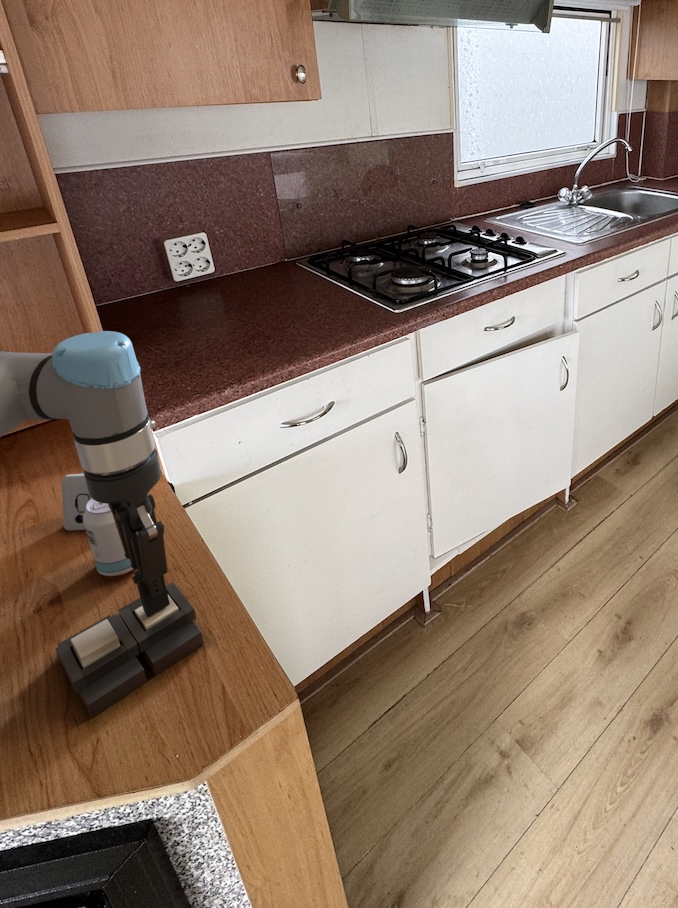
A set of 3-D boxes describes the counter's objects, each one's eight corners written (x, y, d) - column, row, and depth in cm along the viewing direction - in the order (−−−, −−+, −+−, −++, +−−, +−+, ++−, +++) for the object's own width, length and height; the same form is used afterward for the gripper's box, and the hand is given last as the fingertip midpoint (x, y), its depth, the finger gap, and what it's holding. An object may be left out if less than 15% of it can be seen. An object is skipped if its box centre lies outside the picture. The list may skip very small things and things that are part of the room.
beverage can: (150, 570, 89) (135, 506, 85) (96, 588, 85) (78, 522, 81) (149, 541, 94) (135, 480, 90) (99, 557, 91) (81, 494, 87)
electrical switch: (63, 532, 96) (53, 482, 94) (82, 513, 101) (73, 465, 99) (122, 529, 97) (114, 480, 95) (138, 511, 102) (131, 463, 100)
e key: (136, 619, 78) (134, 610, 77) (168, 601, 81) (166, 591, 80) (148, 637, 75) (145, 627, 75) (180, 617, 78) (178, 607, 78)
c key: (73, 649, 72) (70, 639, 72) (109, 628, 75) (106, 618, 75) (83, 669, 70) (80, 658, 69) (120, 646, 73) (117, 636, 72)
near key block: (56, 659, 75) (49, 636, 73) (116, 624, 80) (110, 602, 78) (87, 721, 68) (79, 697, 66) (151, 679, 72) (145, 655, 71)
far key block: (117, 623, 80) (111, 601, 79) (170, 593, 85) (165, 572, 83) (151, 678, 73) (145, 655, 71) (207, 641, 78) (202, 619, 76)
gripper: (176, 465, 68) (207, 617, 76) (134, 425, 76) (166, 566, 84) (103, 497, 63) (145, 656, 71) (66, 450, 71) (108, 598, 78)
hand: (156, 607), depth 77 cm, fingers closed
